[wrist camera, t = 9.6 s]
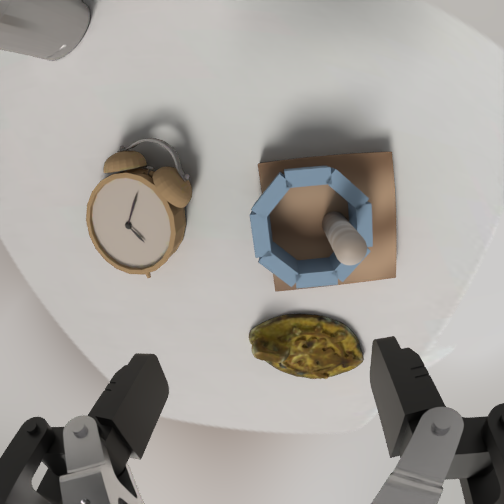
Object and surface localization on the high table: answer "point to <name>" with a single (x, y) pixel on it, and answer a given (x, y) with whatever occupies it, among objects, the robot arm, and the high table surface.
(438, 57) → the high table surface
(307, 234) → the wooden peg stand
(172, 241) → the alarm clock
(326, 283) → the rubber loop
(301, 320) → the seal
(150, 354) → the robot arm
